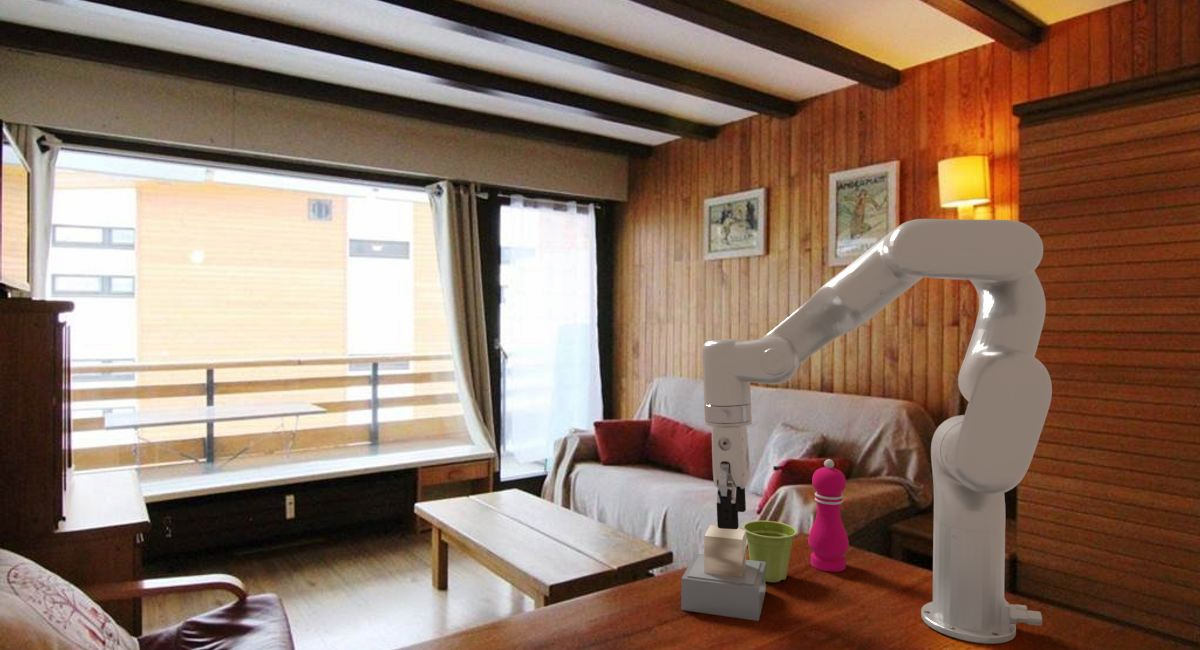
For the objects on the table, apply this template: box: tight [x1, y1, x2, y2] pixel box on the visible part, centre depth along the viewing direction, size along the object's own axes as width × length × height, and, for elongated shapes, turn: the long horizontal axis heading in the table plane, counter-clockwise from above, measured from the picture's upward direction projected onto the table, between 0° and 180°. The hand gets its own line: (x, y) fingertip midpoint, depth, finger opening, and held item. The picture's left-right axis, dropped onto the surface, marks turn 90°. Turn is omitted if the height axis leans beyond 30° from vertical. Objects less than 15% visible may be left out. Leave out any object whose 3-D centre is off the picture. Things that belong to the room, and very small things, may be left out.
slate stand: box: [680, 553, 767, 622], centre depth 112 cm, size 12×12×5 cm
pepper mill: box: [807, 458, 850, 573], centre depth 127 cm, size 7×7×20 cm
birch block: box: [703, 524, 747, 577], centre depth 112 cm, size 6×6×6 cm
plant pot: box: [742, 520, 798, 583], centre depth 122 cm, size 9×9×9 cm
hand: (732, 519), depth 111 cm, fingers open, 9 cm apart
